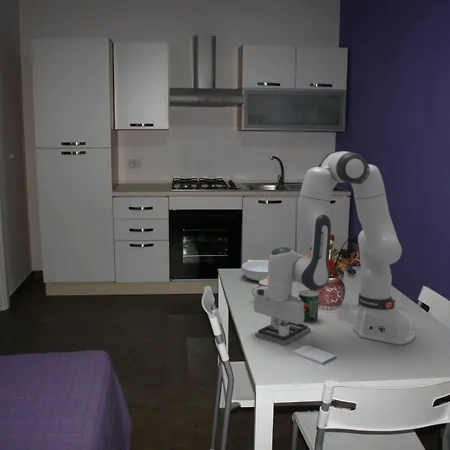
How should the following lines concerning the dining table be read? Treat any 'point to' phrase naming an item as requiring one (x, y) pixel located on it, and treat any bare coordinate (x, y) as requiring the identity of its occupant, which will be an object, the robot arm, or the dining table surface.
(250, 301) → the dining table surface
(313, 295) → the canned tomato
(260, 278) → the serving bowl
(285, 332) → the block
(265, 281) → the teacup with lid
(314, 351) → the external hard drive
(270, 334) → the panel
